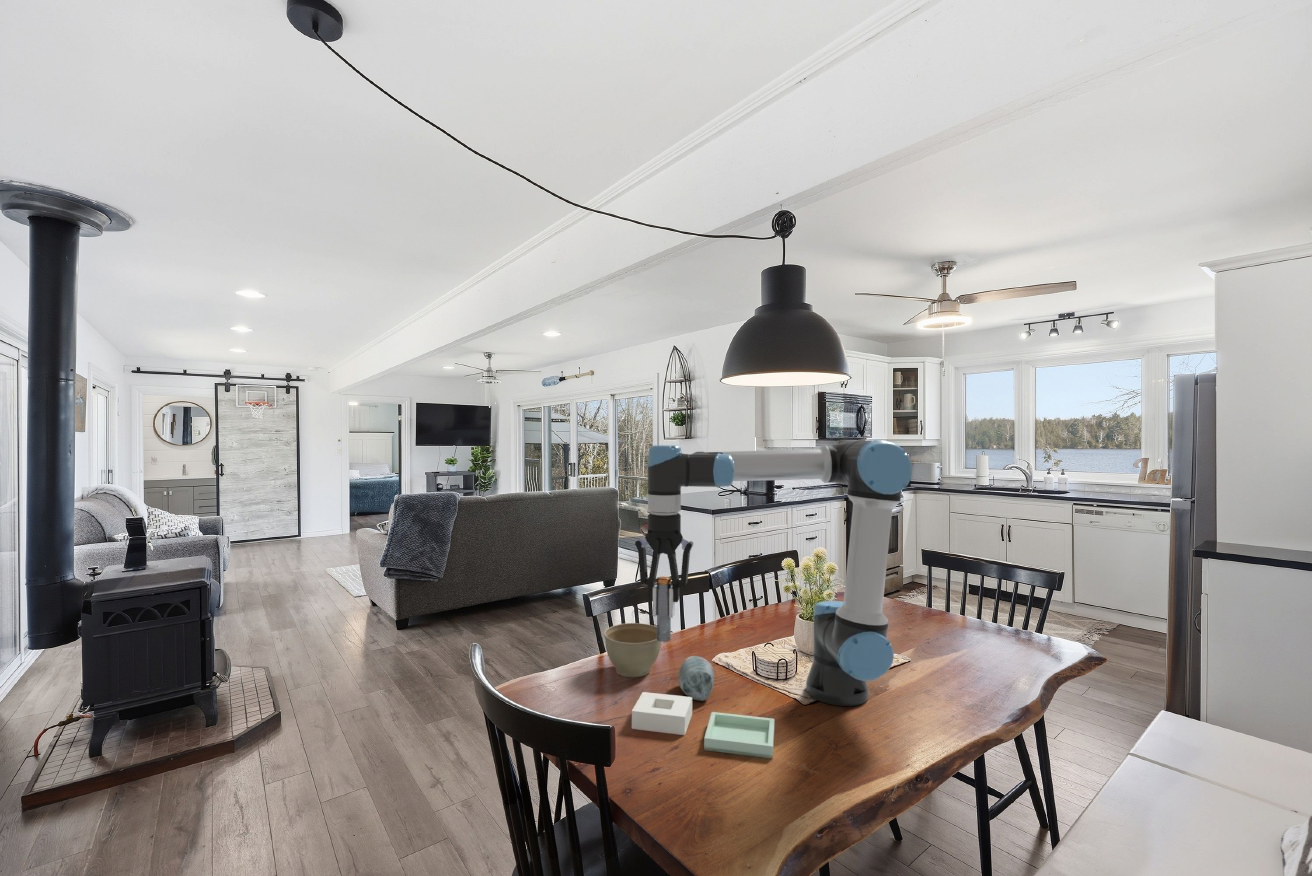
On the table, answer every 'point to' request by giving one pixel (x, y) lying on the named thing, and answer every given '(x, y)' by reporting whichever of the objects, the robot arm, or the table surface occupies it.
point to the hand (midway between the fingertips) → (663, 615)
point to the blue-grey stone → (696, 678)
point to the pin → (663, 609)
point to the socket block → (662, 713)
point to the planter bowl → (632, 648)
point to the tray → (740, 735)
